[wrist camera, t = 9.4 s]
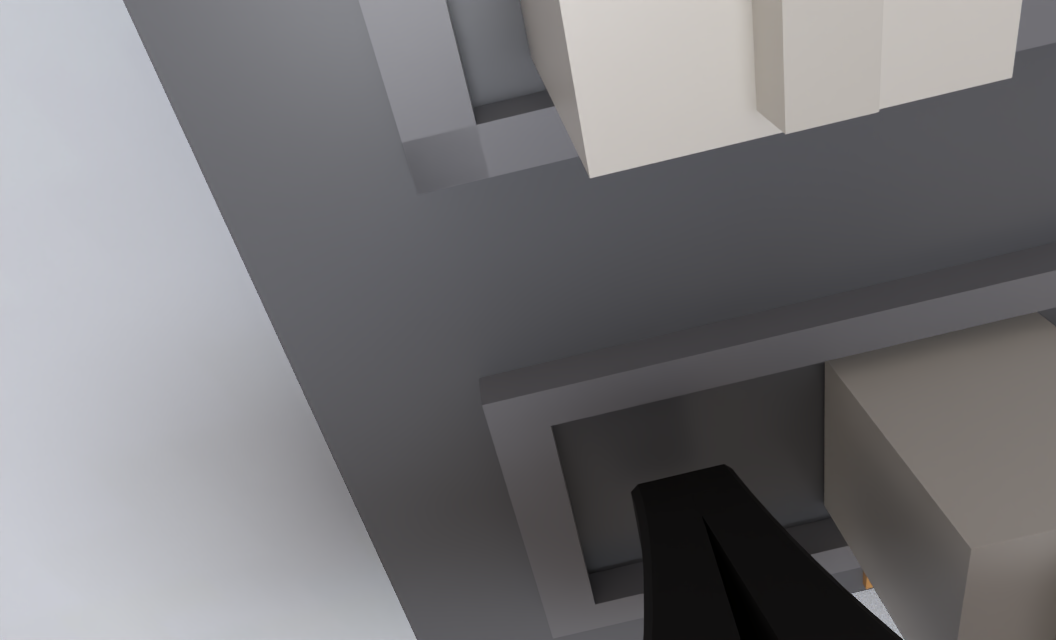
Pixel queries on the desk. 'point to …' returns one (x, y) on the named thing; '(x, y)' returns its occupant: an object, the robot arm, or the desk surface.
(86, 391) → the desk surface
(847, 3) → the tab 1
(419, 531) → the switch bank
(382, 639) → the desk surface
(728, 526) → the robot arm
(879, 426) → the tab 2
